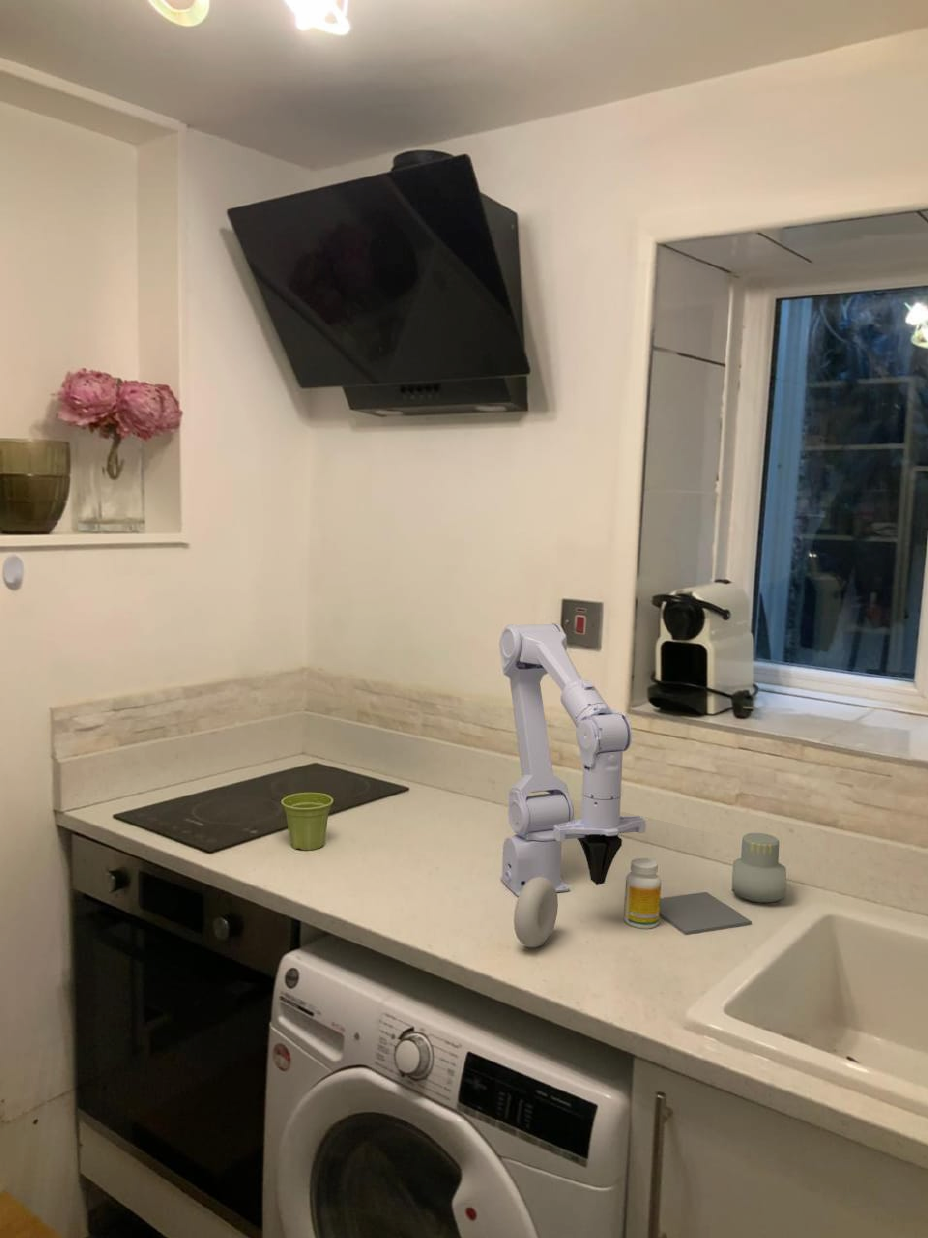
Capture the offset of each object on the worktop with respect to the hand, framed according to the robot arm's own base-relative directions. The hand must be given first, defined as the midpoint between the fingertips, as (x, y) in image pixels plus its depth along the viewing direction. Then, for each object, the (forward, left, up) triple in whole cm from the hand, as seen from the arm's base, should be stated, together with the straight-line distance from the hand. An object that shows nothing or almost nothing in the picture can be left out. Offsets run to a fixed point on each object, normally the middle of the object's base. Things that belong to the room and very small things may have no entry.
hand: (597, 882), depth 146 cm
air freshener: (+32, +3, -8) cm, 33 cm away
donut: (-11, -2, -8) cm, 14 cm away
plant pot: (-34, +48, -8) cm, 59 cm away
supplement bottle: (+8, 0, -8) cm, 11 cm away
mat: (+18, 0, -7) cm, 19 cm away
